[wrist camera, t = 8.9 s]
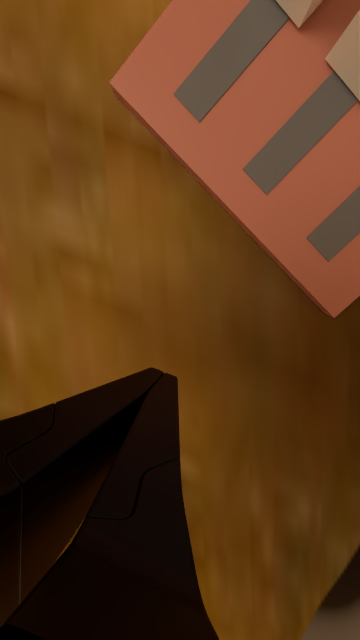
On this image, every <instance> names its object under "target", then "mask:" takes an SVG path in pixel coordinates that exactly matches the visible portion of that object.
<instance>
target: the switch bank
mask: <svg viewBox="0 0 360 640" xmlns="http://www.w3.org/2000/svg"><path fill="white" fill-rule="evenodd" d="M359 10H360V0H323V1H322V2H321V4H320V5H319V6H318V7H317V8H316V9H315V10H314V12H313V13H312V14H311V15H310V16H309V17H308V18H307V20H306V21H305V22H304V23H303V24H302V25H301V26H300V28H298V27H297V26H296V24H295V23H294V22H293V21H292V20H291V18H290V17H289V16H288V15H287V13H286V12H285V11H284V10H283V9H282V7H281V6H280V5H279V4H278V3H277V1H276V0H172V2H171V3H170V4H169V5H168V7H167V8H166V9H165V11H164V12H163V13H162V15H161V16H160V17H159V18H158V20H157V21H156V22H155V24H154V25H153V26H152V28H151V29H150V30H149V31H148V33H147V34H146V35H145V37H144V38H143V39H142V40H141V42H140V43H139V44H138V46H137V47H136V48H135V50H134V51H133V52H132V53H131V55H130V56H129V57H128V59H127V60H126V61H125V63H124V64H123V65H122V66H121V68H120V69H119V70H118V72H117V73H116V74H115V76H114V77H113V78H112V79H111V81H110V82H109V83H110V85H111V87H112V89H113V91H114V93H115V96H116V97H117V98H118V99H119V100H120V101H121V102H122V103H123V104H124V105H125V106H126V107H127V108H128V109H129V110H130V111H131V112H132V113H133V114H134V116H135V117H136V118H137V119H138V120H139V121H140V122H141V123H142V124H143V125H144V126H145V127H146V128H147V129H148V130H149V131H150V132H151V133H152V134H153V135H154V136H155V137H156V138H157V140H158V141H159V142H160V143H161V144H162V145H163V146H164V147H165V148H166V149H167V150H168V151H169V152H170V153H171V154H172V155H173V156H174V157H175V158H176V159H177V160H178V161H179V162H180V163H181V165H182V166H183V167H184V168H185V169H186V170H187V171H188V172H189V173H190V174H191V175H192V176H193V177H194V178H195V179H196V180H197V181H198V182H199V183H200V184H201V185H202V186H203V187H204V189H205V190H206V191H207V192H208V193H209V194H210V195H211V196H212V197H213V198H214V199H215V200H216V201H217V202H218V203H219V204H220V205H221V206H222V207H223V208H224V209H225V210H226V211H227V213H228V214H229V215H230V216H231V217H232V218H233V219H234V220H235V221H236V222H237V223H238V224H239V225H240V226H241V227H242V228H243V229H244V230H245V231H246V232H247V233H248V234H249V235H250V236H251V238H252V239H253V240H254V241H255V242H256V243H257V244H258V245H259V246H260V247H261V248H262V249H263V250H264V251H265V252H266V253H267V254H268V255H269V256H270V257H271V258H272V259H273V260H274V262H275V263H276V264H277V265H278V266H279V267H280V268H281V269H282V270H283V271H284V272H285V273H286V274H287V275H288V276H289V277H290V278H291V279H292V280H293V281H294V282H295V283H296V284H297V286H298V287H299V288H300V289H301V290H302V291H303V292H304V293H305V294H306V295H307V296H308V297H309V298H310V299H311V300H312V301H313V302H314V303H315V304H316V305H317V306H318V307H319V308H320V309H321V311H322V312H323V313H325V314H327V315H329V316H331V317H333V318H335V317H336V316H337V315H338V314H340V313H341V312H342V311H343V310H344V309H345V308H346V307H347V306H349V305H350V304H351V303H352V302H353V301H354V300H355V299H357V298H358V297H359V296H360V101H359V100H358V98H357V97H356V96H355V95H354V94H353V92H352V91H351V90H350V89H349V87H348V86H347V85H346V84H345V83H344V81H343V80H342V79H341V78H340V77H339V75H338V74H337V73H336V72H335V71H334V69H333V68H332V67H331V66H330V64H329V63H328V62H327V61H326V60H325V58H326V57H327V55H328V54H329V52H330V51H331V49H332V48H333V47H334V45H335V44H336V42H337V41H338V39H339V38H340V37H341V35H342V34H343V32H344V31H345V30H346V28H347V27H348V25H349V24H350V22H351V21H352V20H353V18H354V17H355V15H356V14H357V12H358V11H359Z"/></svg>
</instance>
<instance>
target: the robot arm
mask: <svg viewBox="0 0 360 640" xmlns="http://www.w3.org/2000/svg"><path fill="white" fill-rule="evenodd" d="M85 517H86V518H85ZM84 518H85V519H84ZM83 520H84V521H83ZM82 521H83V523H82ZM81 523H82V525H81V527H80V529H79V530H78V532H77V534H76V536H75V537H74V539H73V541H72V542H71V544H70V545H69V547H68V548H67V549H66V550H65V552H64V553H63V554H62V555H61V556H60V557H59V555H60V554H61V552H62V551H63V549H64V548H65V546H66V545H67V543H68V542H69V540H70V539H71V537H72V536H73V534H74V533H75V531H76V530H77V528H78V527H79V526H80V524H81ZM58 557H59V559H58V560H57V558H58ZM56 560H57V561H56ZM55 561H56V562H55ZM53 564H54V565H53ZM0 640H219V638H218V636H217V634H216V632H215V630H214V628H213V626H212V624H211V622H210V620H209V617H208V615H207V612H206V610H205V607H204V604H203V601H202V597H201V593H200V589H199V585H198V580H197V575H196V570H195V565H194V559H193V554H192V548H191V543H190V537H189V532H188V526H187V520H186V515H185V508H184V502H183V495H182V484H181V468H180V441H179V409H178V379H177V377H176V376H173V375H170V374H168V373H164V372H163V371H160V370H158V369H155V368H148V369H146V370H143V371H140V372H137V373H135V374H132V375H129V376H126V377H124V378H121V379H118V380H115V381H113V382H110V383H107V384H105V385H102V386H99V387H96V388H94V389H91V390H88V391H85V392H83V393H80V394H77V395H75V396H72V397H69V398H66V399H64V400H61V401H58V402H56V404H54V403H52V404H50V405H47V406H44V407H41V408H39V409H36V410H33V411H30V412H27V413H24V414H21V415H18V416H14V417H11V418H8V419H4V420H1V421H0Z"/></svg>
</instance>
